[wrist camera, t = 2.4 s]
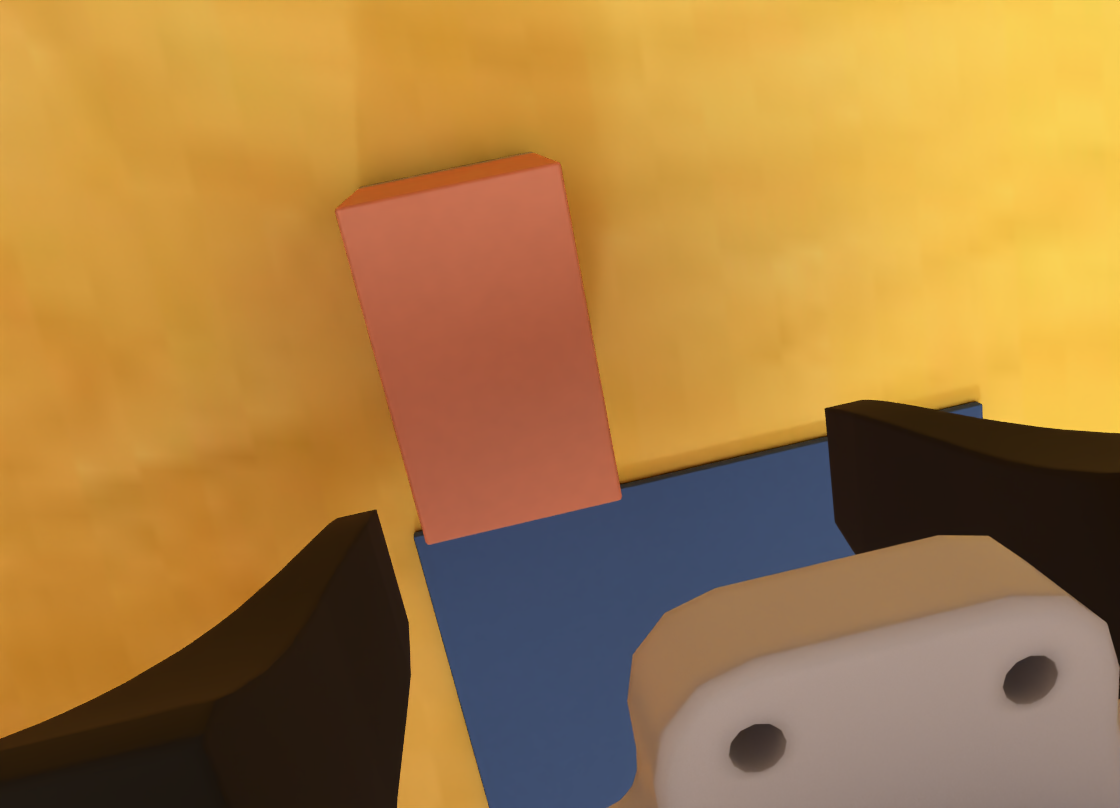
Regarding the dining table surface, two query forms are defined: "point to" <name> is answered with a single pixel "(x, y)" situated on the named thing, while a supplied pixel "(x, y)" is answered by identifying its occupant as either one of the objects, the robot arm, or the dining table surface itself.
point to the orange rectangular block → (483, 343)
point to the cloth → (608, 609)
